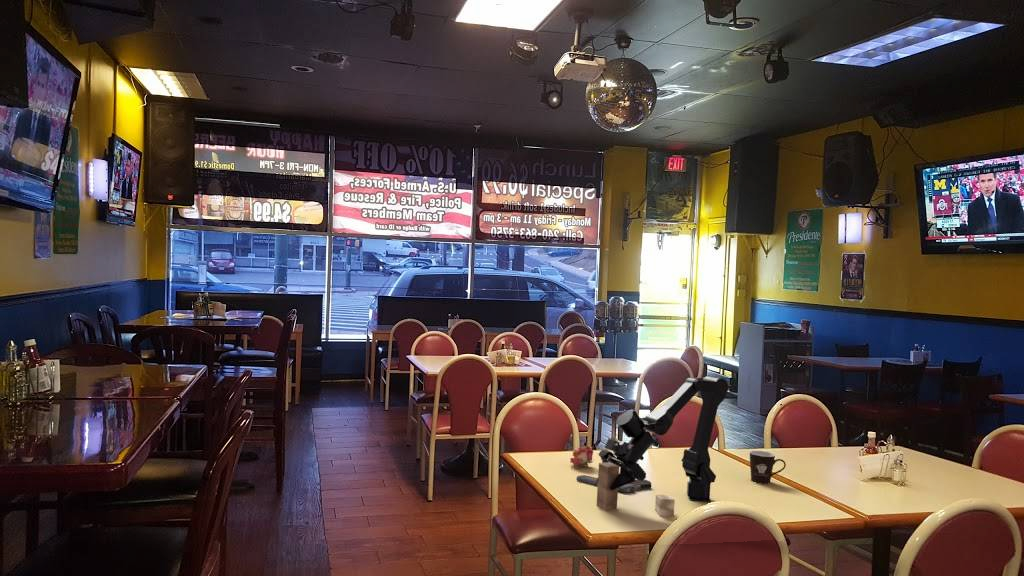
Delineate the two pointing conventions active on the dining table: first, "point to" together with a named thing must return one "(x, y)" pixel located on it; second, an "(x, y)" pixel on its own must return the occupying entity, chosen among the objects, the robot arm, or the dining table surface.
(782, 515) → the dining table surface
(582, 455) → the flower
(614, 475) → the walnut block
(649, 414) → the robot arm
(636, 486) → the handgun
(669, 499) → the maple block
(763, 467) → the coffee mug
